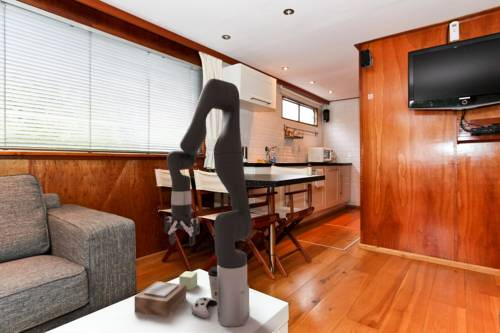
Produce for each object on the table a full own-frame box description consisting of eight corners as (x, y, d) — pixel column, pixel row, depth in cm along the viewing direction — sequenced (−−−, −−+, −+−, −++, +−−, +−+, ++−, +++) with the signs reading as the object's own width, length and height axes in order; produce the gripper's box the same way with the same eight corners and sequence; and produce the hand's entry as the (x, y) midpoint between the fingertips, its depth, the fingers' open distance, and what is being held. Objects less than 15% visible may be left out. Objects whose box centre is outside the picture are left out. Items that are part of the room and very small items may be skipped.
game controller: (209, 317, 84) (196, 302, 85) (198, 328, 85) (185, 313, 86) (219, 301, 94) (207, 288, 94) (208, 311, 94) (197, 298, 95)
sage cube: (197, 284, 108) (197, 272, 108) (191, 290, 104) (191, 277, 104) (186, 283, 110) (185, 271, 110) (179, 288, 105) (179, 276, 105)
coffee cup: (217, 303, 94) (217, 274, 94) (203, 296, 99) (203, 269, 98) (231, 295, 100) (231, 268, 99) (217, 289, 104) (217, 263, 104)
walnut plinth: (186, 299, 97) (186, 283, 97) (166, 317, 85) (166, 299, 85) (156, 294, 100) (156, 279, 100) (134, 311, 89) (134, 294, 89)
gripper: (202, 202, 106) (203, 243, 107) (171, 200, 111) (171, 240, 111) (192, 204, 99) (193, 249, 99) (159, 203, 104) (160, 245, 104)
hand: (181, 244), depth 105 cm, fingers open, 8 cm apart
